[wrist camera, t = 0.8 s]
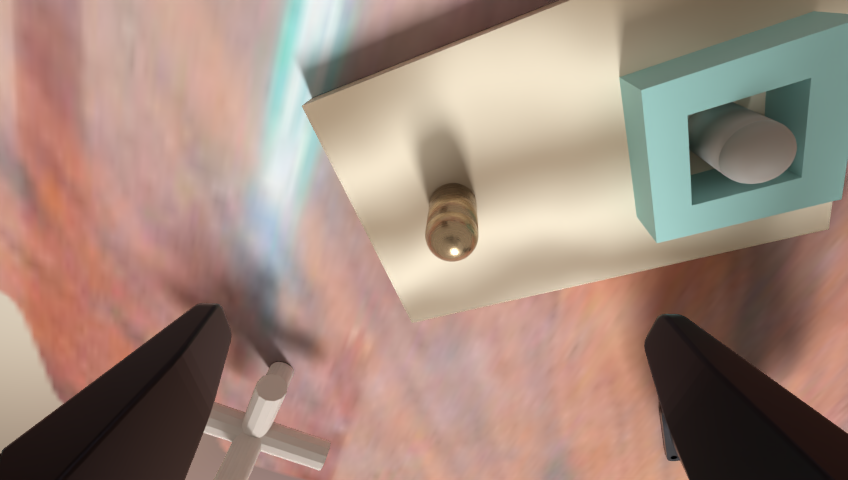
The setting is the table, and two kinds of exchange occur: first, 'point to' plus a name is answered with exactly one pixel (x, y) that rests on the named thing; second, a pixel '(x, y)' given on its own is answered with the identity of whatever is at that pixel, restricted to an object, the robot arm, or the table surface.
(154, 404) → the robot arm
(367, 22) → the table surface
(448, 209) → the bronze post
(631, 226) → the birch stand board
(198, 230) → the table surface
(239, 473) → the pipe connector
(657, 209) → the teal collar
